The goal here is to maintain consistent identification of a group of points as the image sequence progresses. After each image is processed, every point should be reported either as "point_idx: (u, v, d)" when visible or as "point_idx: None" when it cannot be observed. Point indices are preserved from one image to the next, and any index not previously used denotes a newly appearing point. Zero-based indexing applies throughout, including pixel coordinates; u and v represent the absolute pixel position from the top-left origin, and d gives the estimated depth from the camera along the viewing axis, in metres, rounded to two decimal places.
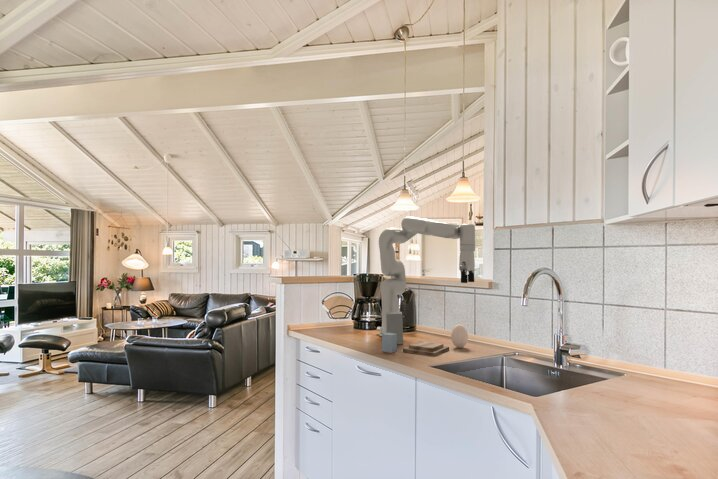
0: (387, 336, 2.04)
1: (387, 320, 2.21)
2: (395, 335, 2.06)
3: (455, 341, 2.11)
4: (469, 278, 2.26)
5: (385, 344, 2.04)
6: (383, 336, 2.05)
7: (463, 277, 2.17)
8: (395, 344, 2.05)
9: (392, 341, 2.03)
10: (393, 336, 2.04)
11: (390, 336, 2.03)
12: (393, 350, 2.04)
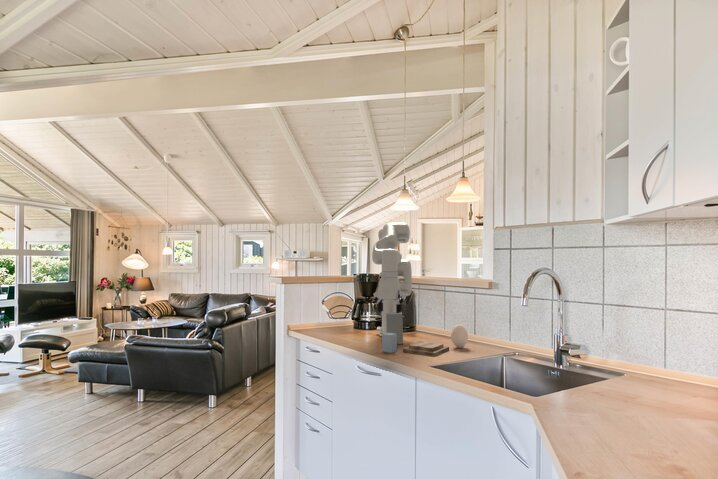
0: (387, 336, 2.04)
1: (387, 320, 2.21)
2: (395, 335, 2.06)
3: (455, 341, 2.11)
4: (380, 307, 2.08)
5: (385, 344, 2.04)
6: (383, 336, 2.05)
7: (400, 307, 2.03)
8: (395, 344, 2.05)
9: (392, 341, 2.03)
10: (393, 336, 2.04)
11: (390, 336, 2.03)
12: (393, 350, 2.04)
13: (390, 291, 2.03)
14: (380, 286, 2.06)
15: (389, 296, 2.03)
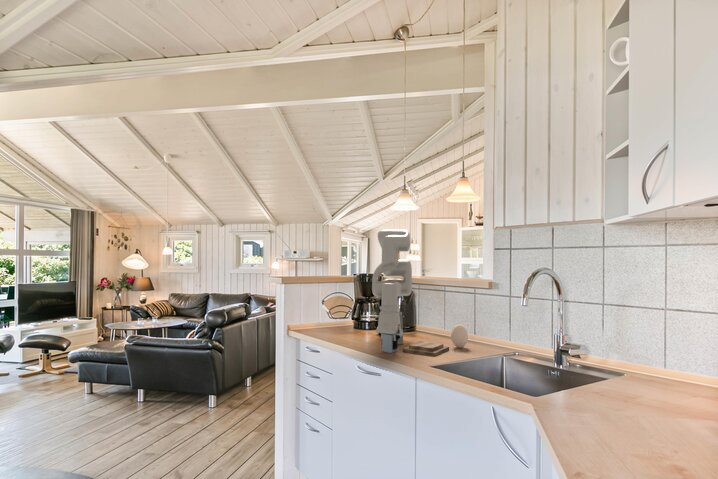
0: (387, 336, 2.04)
1: None
2: None
3: (455, 341, 2.11)
4: None
5: (385, 344, 2.04)
6: (383, 336, 2.05)
7: (396, 343, 2.04)
8: None
9: (392, 341, 2.03)
10: None
11: (390, 336, 2.03)
12: (393, 350, 2.04)
13: (390, 325, 2.03)
14: (380, 320, 2.06)
15: (389, 330, 2.03)
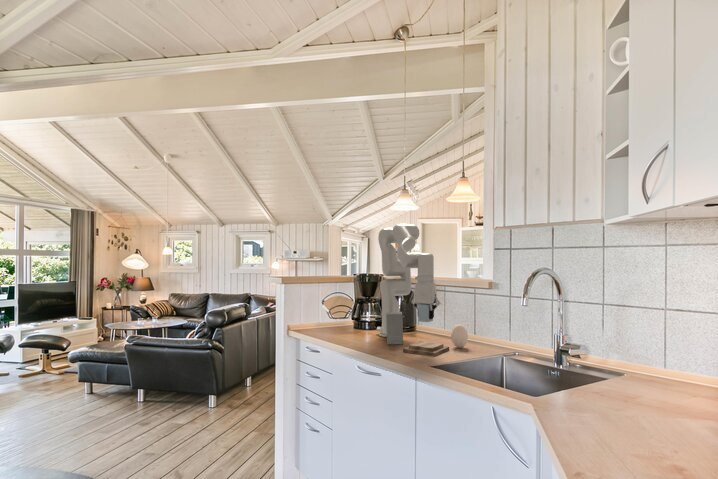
0: (423, 306, 2.05)
1: (387, 320, 2.21)
2: None
3: (455, 341, 2.11)
4: None
5: (421, 313, 2.05)
6: (419, 306, 2.06)
7: (433, 313, 2.05)
8: None
9: (428, 311, 2.04)
10: None
11: (427, 306, 2.04)
12: (429, 320, 2.05)
13: (427, 295, 2.04)
14: (416, 290, 2.07)
15: (426, 300, 2.04)
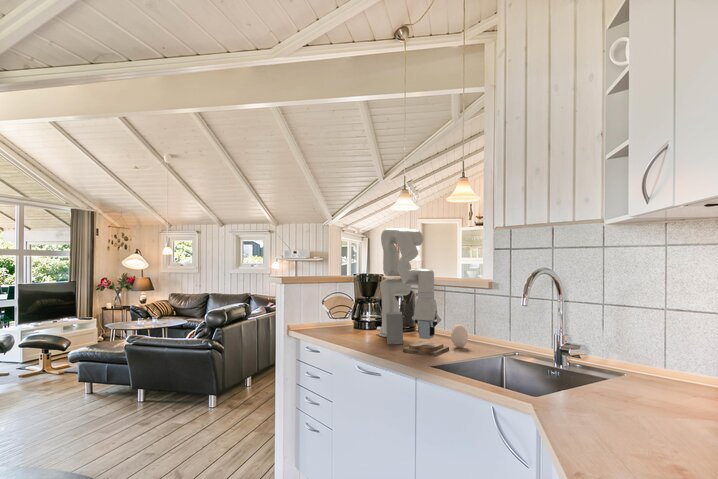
0: (424, 322, 2.04)
1: (387, 320, 2.21)
2: None
3: (455, 341, 2.11)
4: None
5: (422, 330, 2.05)
6: (420, 323, 2.05)
7: (433, 329, 2.04)
8: None
9: (429, 327, 2.03)
10: None
11: (427, 322, 2.03)
12: (430, 336, 2.04)
13: (427, 312, 2.03)
14: (417, 307, 2.07)
15: (426, 317, 2.03)
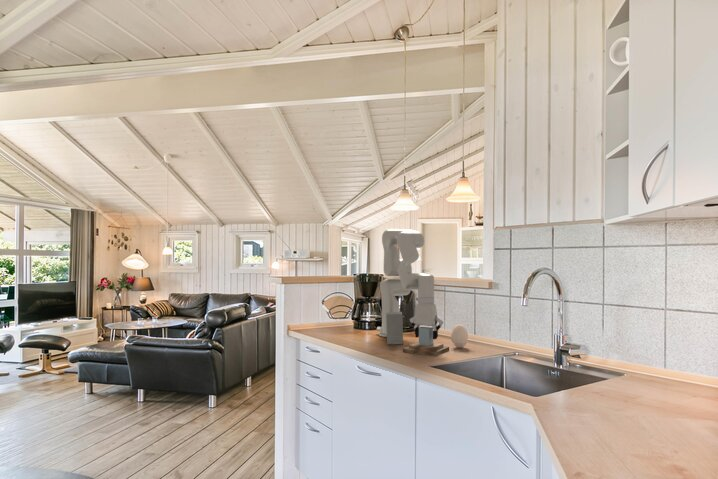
0: (424, 329, 2.04)
1: (387, 320, 2.21)
2: (432, 328, 2.06)
3: (455, 341, 2.11)
4: (417, 333, 2.08)
5: (421, 337, 2.05)
6: (420, 329, 2.06)
7: (437, 333, 2.03)
8: (432, 337, 2.06)
9: (429, 334, 2.03)
10: (430, 329, 2.05)
11: (427, 329, 2.03)
12: (430, 343, 2.04)
13: (427, 317, 2.03)
14: (417, 311, 2.06)
15: (426, 322, 2.03)
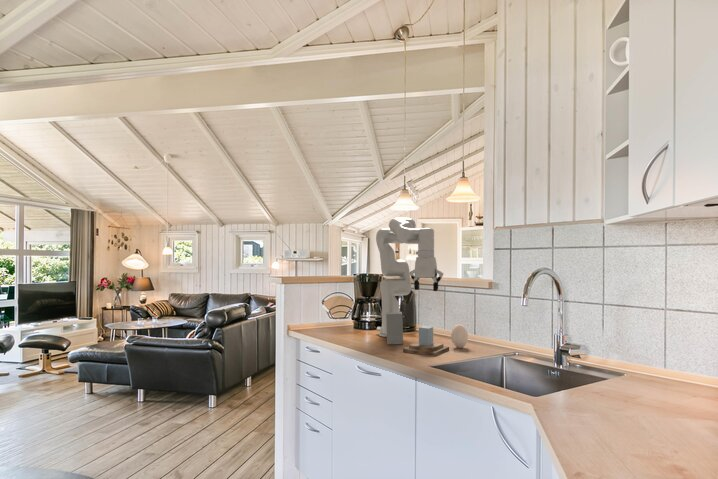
0: (424, 329, 2.04)
1: (387, 320, 2.21)
2: (432, 328, 2.06)
3: (455, 341, 2.11)
4: (416, 286, 2.11)
5: (421, 337, 2.05)
6: (420, 329, 2.06)
7: (437, 285, 2.05)
8: (432, 337, 2.06)
9: (429, 334, 2.03)
10: (430, 329, 2.05)
11: (427, 329, 2.03)
12: (430, 343, 2.04)
13: (427, 269, 2.05)
14: (417, 265, 2.09)
15: (426, 274, 2.06)
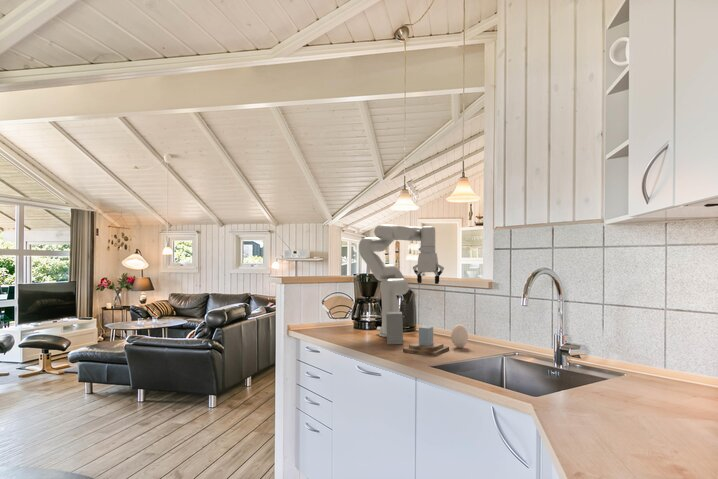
0: (424, 329, 2.04)
1: (387, 320, 2.21)
2: (432, 328, 2.06)
3: (455, 341, 2.11)
4: (419, 279, 2.29)
5: (421, 337, 2.05)
6: (420, 329, 2.06)
7: (438, 278, 2.24)
8: (432, 337, 2.06)
9: (429, 334, 2.03)
10: (430, 329, 2.05)
11: (427, 329, 2.03)
12: (430, 343, 2.04)
13: (429, 264, 2.24)
14: (419, 260, 2.28)
15: (428, 269, 2.24)
